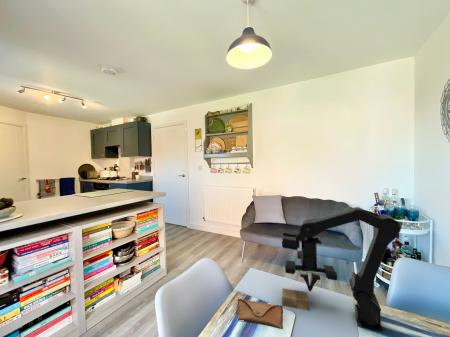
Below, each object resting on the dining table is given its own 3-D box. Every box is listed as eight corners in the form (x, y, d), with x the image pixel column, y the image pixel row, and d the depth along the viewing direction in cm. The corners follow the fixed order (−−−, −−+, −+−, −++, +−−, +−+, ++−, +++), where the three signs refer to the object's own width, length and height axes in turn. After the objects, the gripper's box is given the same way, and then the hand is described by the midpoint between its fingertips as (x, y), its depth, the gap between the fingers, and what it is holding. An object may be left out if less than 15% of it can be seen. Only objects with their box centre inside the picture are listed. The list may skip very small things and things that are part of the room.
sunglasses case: (233, 321, 70) (235, 299, 73) (236, 318, 76) (238, 298, 79) (284, 329, 66) (283, 306, 69) (283, 325, 72) (282, 304, 75)
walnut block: (307, 292, 80) (282, 288, 83) (308, 301, 74) (281, 296, 77) (307, 301, 80) (282, 297, 83) (309, 311, 74) (282, 306, 77)
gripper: (330, 246, 82) (331, 282, 82) (285, 242, 87) (285, 276, 87) (337, 258, 71) (337, 300, 71) (284, 252, 77) (285, 291, 77)
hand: (309, 290), depth 77 cm, fingers closed
